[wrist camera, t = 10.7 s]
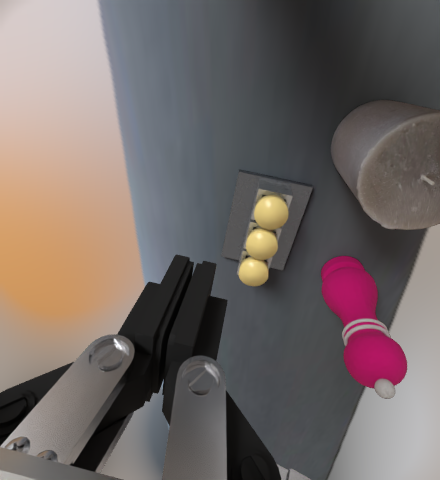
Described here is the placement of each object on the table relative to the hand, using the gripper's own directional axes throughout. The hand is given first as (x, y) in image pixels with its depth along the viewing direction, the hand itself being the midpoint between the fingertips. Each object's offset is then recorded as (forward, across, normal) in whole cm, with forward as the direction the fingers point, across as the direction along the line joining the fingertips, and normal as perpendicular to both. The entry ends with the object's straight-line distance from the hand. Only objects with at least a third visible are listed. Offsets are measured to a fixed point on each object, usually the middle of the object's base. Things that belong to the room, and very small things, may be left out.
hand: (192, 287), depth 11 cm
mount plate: (+29, -5, +11) cm, 31 cm away
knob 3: (+28, -5, +15) cm, 32 cm away
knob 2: (+28, -5, +11) cm, 30 cm away
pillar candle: (+29, -15, -3) cm, 33 cm away
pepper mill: (+29, -19, +16) cm, 38 cm away
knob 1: (+27, -5, +6) cm, 29 cm away
